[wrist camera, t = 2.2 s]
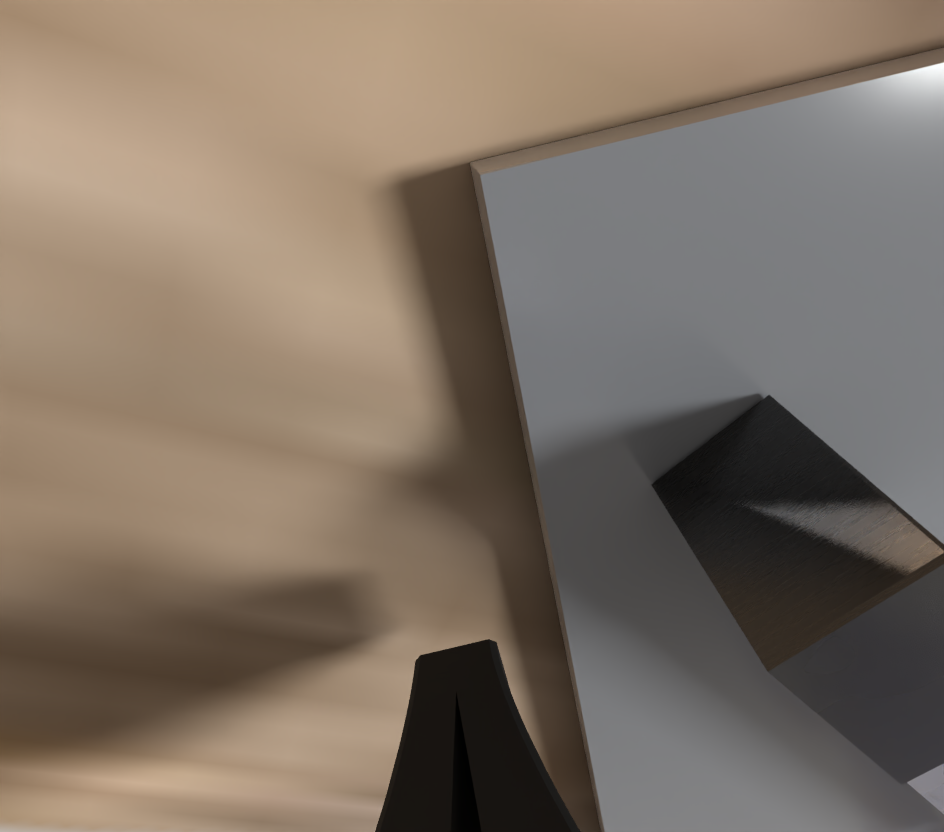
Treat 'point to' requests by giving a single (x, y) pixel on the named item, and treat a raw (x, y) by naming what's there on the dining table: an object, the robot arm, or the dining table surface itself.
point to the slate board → (719, 409)
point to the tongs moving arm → (823, 584)
